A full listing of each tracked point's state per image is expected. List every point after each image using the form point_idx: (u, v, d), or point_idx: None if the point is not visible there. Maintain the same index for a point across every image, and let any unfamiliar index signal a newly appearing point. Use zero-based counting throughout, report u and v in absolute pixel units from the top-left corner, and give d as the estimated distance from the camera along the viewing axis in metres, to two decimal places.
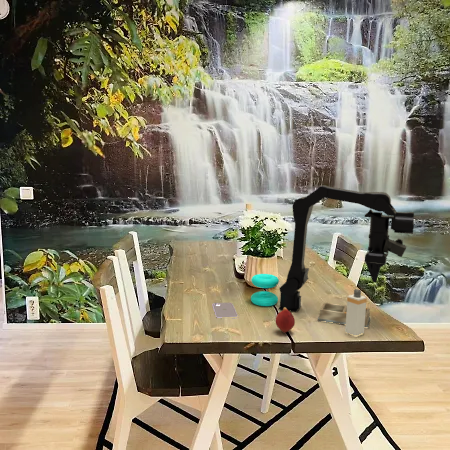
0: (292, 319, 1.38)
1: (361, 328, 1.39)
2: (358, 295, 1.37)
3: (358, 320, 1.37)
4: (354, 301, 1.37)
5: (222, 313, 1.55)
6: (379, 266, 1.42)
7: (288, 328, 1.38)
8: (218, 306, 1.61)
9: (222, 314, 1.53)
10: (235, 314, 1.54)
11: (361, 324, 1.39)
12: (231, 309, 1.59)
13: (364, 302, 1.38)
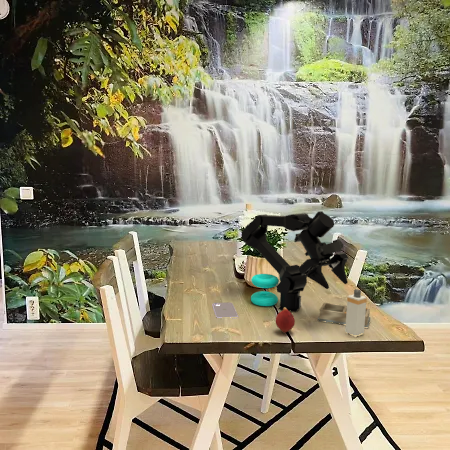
0: (292, 319, 1.38)
1: (361, 328, 1.39)
2: (358, 295, 1.37)
3: (358, 320, 1.37)
4: (354, 301, 1.37)
5: (222, 313, 1.55)
6: (317, 271, 1.42)
7: (288, 328, 1.38)
8: (218, 306, 1.61)
9: (222, 314, 1.53)
10: (235, 314, 1.54)
11: (361, 324, 1.39)
12: (231, 309, 1.58)
13: (364, 302, 1.38)
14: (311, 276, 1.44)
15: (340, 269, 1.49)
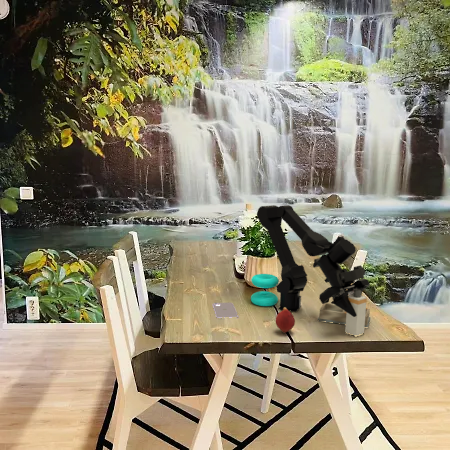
0: (292, 319, 1.38)
1: (361, 328, 1.39)
2: (358, 295, 1.37)
3: (358, 320, 1.37)
4: (354, 301, 1.37)
5: (222, 313, 1.55)
6: (343, 299, 1.37)
7: (288, 328, 1.38)
8: (218, 306, 1.61)
9: (222, 314, 1.53)
10: (235, 314, 1.54)
11: (361, 324, 1.39)
12: (231, 309, 1.58)
13: (364, 302, 1.38)
14: (337, 303, 1.40)
15: None
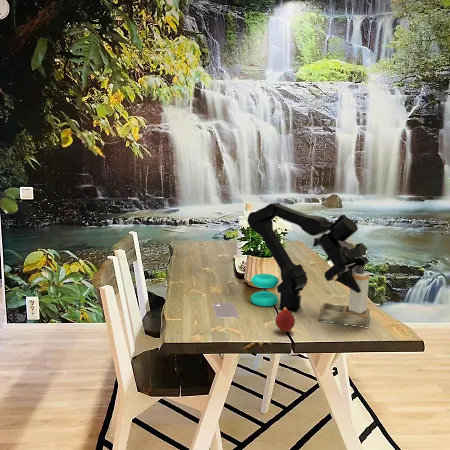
0: (292, 319, 1.38)
1: (364, 304, 1.42)
2: (362, 271, 1.40)
3: (362, 296, 1.40)
4: (358, 277, 1.40)
5: (222, 313, 1.55)
6: (348, 275, 1.40)
7: (288, 328, 1.38)
8: (218, 306, 1.61)
9: (222, 314, 1.53)
10: (235, 314, 1.54)
11: (364, 300, 1.42)
12: (231, 309, 1.58)
13: (367, 278, 1.41)
14: (341, 280, 1.42)
15: None
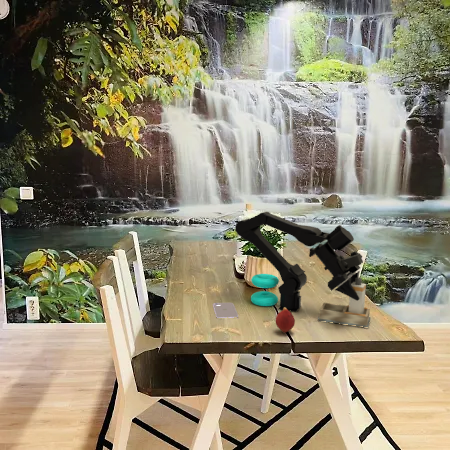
0: (292, 319, 1.38)
1: (362, 313, 1.49)
2: (360, 283, 1.48)
3: (361, 306, 1.47)
4: (358, 289, 1.47)
5: (222, 313, 1.55)
6: (348, 284, 1.45)
7: (288, 328, 1.38)
8: (219, 306, 1.61)
9: (222, 314, 1.53)
10: (235, 314, 1.54)
11: (362, 309, 1.49)
12: (232, 309, 1.58)
13: (364, 289, 1.49)
14: (340, 289, 1.46)
15: None
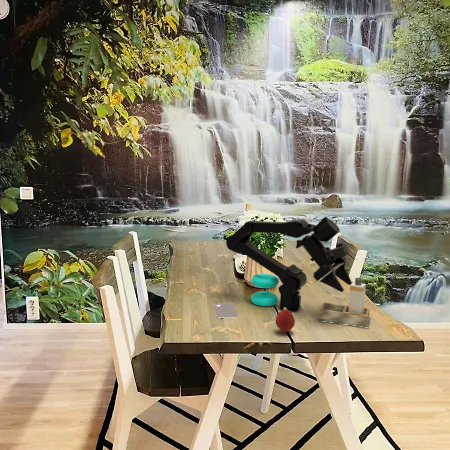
0: (292, 319, 1.38)
1: (362, 313, 1.49)
2: (360, 283, 1.47)
3: (361, 306, 1.47)
4: (358, 289, 1.47)
5: (222, 313, 1.55)
6: (332, 276, 1.46)
7: (288, 328, 1.38)
8: (219, 306, 1.61)
9: (222, 314, 1.53)
10: (235, 314, 1.54)
11: (362, 309, 1.49)
12: (232, 309, 1.58)
13: (364, 289, 1.49)
14: (325, 281, 1.47)
15: (343, 271, 1.55)
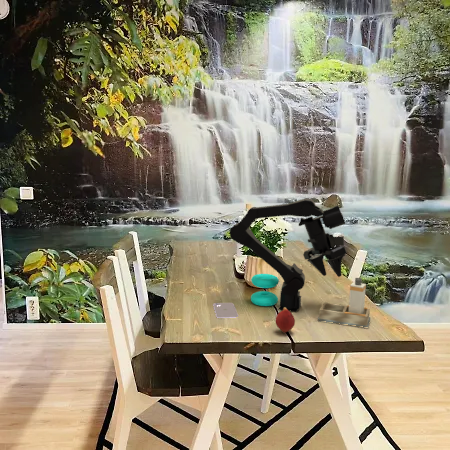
0: (292, 319, 1.38)
1: (362, 313, 1.49)
2: (360, 283, 1.47)
3: (361, 306, 1.47)
4: (358, 289, 1.47)
5: (222, 313, 1.55)
6: (340, 259, 1.51)
7: (288, 328, 1.38)
8: (219, 306, 1.61)
9: (222, 315, 1.53)
10: (235, 314, 1.53)
11: (362, 309, 1.49)
12: (232, 309, 1.58)
13: (364, 289, 1.49)
14: (332, 262, 1.50)
15: (321, 261, 1.61)
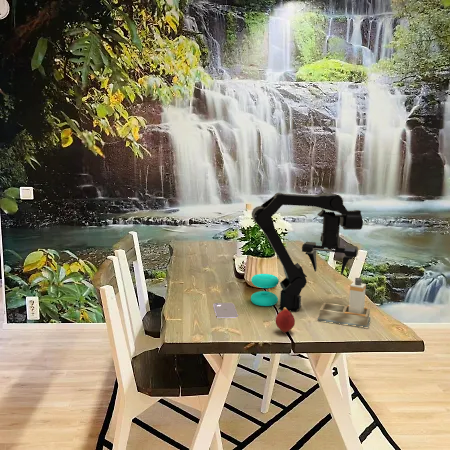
0: (292, 319, 1.38)
1: (362, 313, 1.49)
2: (360, 283, 1.47)
3: (361, 306, 1.47)
4: (358, 289, 1.47)
5: (222, 313, 1.54)
6: None
7: (288, 328, 1.38)
8: (219, 306, 1.61)
9: (222, 315, 1.53)
10: (236, 314, 1.53)
11: (362, 309, 1.49)
12: (232, 309, 1.58)
13: (364, 289, 1.49)
14: (347, 260, 1.56)
15: (315, 257, 1.63)
